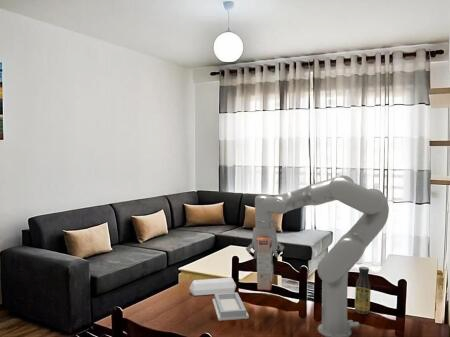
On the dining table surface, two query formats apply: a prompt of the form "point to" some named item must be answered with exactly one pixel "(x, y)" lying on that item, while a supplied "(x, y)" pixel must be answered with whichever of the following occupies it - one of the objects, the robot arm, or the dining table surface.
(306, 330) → the dining table surface
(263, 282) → the cracker box
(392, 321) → the dining table surface
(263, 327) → the dining table surface
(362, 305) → the sauce bottle
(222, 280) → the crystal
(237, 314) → the grey rectangular tray
